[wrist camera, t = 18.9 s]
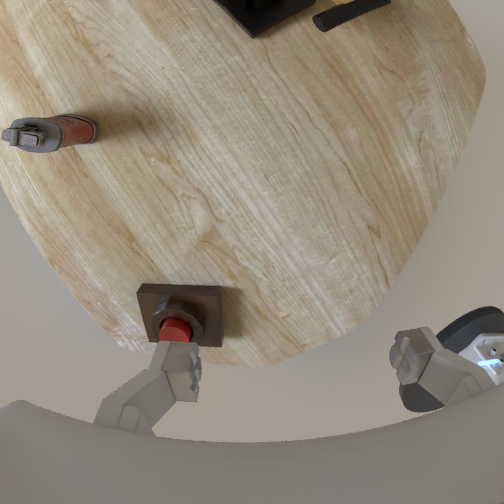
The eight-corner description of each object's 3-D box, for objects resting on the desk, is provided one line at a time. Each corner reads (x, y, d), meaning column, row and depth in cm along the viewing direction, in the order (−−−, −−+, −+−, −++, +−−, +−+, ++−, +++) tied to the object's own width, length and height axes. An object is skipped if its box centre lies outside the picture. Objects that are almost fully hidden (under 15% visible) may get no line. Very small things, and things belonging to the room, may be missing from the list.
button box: (219, 285, 34) (215, 305, 30) (223, 336, 37) (220, 357, 33) (142, 283, 34) (130, 301, 30) (153, 331, 37) (145, 351, 33)
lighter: (47, 138, 26) (-9, 151, 17) (52, 112, 24) (-5, 117, 15) (95, 148, 27) (39, 162, 18) (101, 119, 25) (44, 123, 16)
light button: (189, 318, 31) (186, 327, 30) (193, 341, 33) (190, 350, 31) (160, 316, 31) (156, 325, 30) (165, 339, 33) (162, 348, 31)
